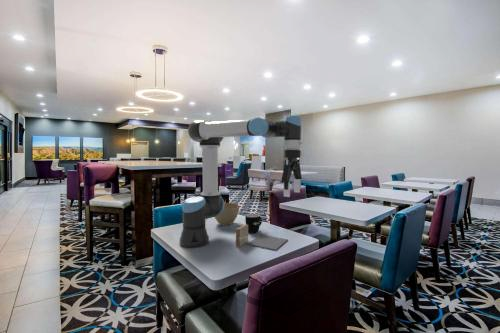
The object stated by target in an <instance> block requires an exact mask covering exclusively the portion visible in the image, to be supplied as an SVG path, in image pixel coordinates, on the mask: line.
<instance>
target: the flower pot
mask: <svg viewBox="0 0 500 333" xmlns="http://www.w3.org/2000/svg"><path fill="white" fill-rule="evenodd" d="M224 204H225V205H224V209H223V211H222V212H221V213H220V214H218V215H217V216H214V217H213V218H214V219H215V220H216V222H217V223H218V224H219V225H220V226H230V225H233V223H234V222H235V220H236V219H237V217H238V215H239V211H240V205H239V204H238V203H232V202H224Z"/></svg>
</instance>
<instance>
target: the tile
mask: <svg viewBox="0 0 500 333" xmlns="http://www.w3.org/2000/svg"><path fill="white" fill-rule="evenodd" d="M247 243H249V233H248V225H246V223H245V224H243V225H241V226H239V227H237V228H235V246H236V247H238V248H240V247H242V246H243V245H245V244H247Z"/></svg>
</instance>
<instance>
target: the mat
mask: <svg viewBox="0 0 500 333" xmlns="http://www.w3.org/2000/svg"><path fill="white" fill-rule="evenodd" d="M287 242H288V239H287V238H282V237H276V236H272V235H266V234H260V235H258V236H257V237H255V238H253V239H252V240H250V241H248V242H246V244H247V246H252V247H256V248H260V247H261V248H260V249H265V248H266V250H270V251H274V250H275V251H276V252H277V250H278V249H280V248H281V247H282V246H283V245H284V244H285V243H287ZM280 246H281V247H280ZM279 247H280V248H279ZM275 251H274V252H275Z"/></svg>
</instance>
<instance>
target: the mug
mask: <svg viewBox="0 0 500 333" xmlns="http://www.w3.org/2000/svg"><path fill="white" fill-rule="evenodd" d="M244 220H245V224H246V225H248V234H257V233H258V232H259V231H260V227H261V225H262V223H263V219H262V217H261V214H259V213H256V212H255V213H254V212H253V213H251V212H249V213H245V219H244Z"/></svg>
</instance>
